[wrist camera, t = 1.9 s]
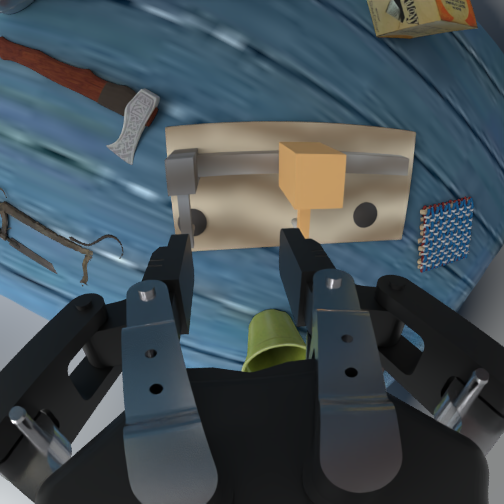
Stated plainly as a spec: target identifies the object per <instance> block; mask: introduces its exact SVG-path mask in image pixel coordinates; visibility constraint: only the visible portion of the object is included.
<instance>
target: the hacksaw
mask: <svg viewBox="0 0 504 504" xmlns="http://www.w3.org/2000/svg"><path fill="white" fill-rule="evenodd" d="M0 189H1V188H0ZM1 190H2V189H1ZM2 191H3V190H2ZM3 192H4V191H3ZM4 194H5V193H4ZM5 196H6V195H5ZM6 198H7V197H6ZM7 213H8V214H9V215H11V216H13V217H14V218H16V219H18V220H20V221H21V222H22V223H24V224H26V225H28V226H30V227H31V228H33V229H35V230H37V231H38V232H40V233H42V234H44V235H45V236H47V237H49V238H51V239H53V240H55V241H57V242H59V243H61V244H63V245H64V246H66V247H69V248H73V249H74V250H75V251H79V252H80V253H82V254H86V255H85V259H84V260H83V264H82V267H83V272H84V276H83V279H82V280H81V281H80V283H84V284H86V283H87V281H88V276H87V263H88V261H89V260H90V259H92V256H91V254H92V252H93V251H89V249H85V248H82V247H81V246H80V245H77V244H76V243H74V242H72V241H75V242H77V243H79V244H82V245H85V246H90V245H93V244H95V243H97V242H99V241H101V240H102V239H104V238H107V237H109V238H114V239H116V240H117V241H118V242H119V243H120V245H122V244H121V242H120V241H119V240H118V239H117V238H116V237H115V236H113V235H109V234H108V235H104V236H102V237H101V238H99V239H98V240H96V241H94V242H93V243H91V244H85V243H82V242H80V241H78V240H76V239H74V238H73V237H69V238H70V240H72V241H70V240H68V239H66V238H64V237H62V236H60V235H59V236H58V235H57V234H56V233H55V232H53V231H52V230H50V229H48V228H46V227H45V226H43V225H42V224H40V223H39V222H36V221H34V220H33V219H32V218H30V217H29V216H27V215H25V214H24V213H22V212H21V211H19V210H17V209H16V208H15V207H13V206H11V205H10V204H8V203H7V202H5V201H4V202H3V203H0V214H1V218H2V229H0V238H2V239H3V240H5V241H6V240H7V241H9V242H10V243H9V245H11V246H12V247H14V248H15V249H17V250H19V251H20V252H22V253H23V254H25V255H26V256H28V257H30V258H31V259H33V260H34V261H36V262H38V263H39V264H41V265H42V266H44V267H46V268H47V269H49V270H51V271H52V272H54V273H56V274H57V272H56V270H54V267H53V265H52V264H51V263H50V262H48V261H47V260H45V259H44V258H42V257H40V256H39V255H37V254H36V253H34V252H33V251H31V250H30V249H28V248H27V247H25V246H24V245H22V244H21V243H19V242H18V241H16V240H14V239H13V238H11V239H10V238H9V237H8V236H7V235H8V234H7V230H8V229H11V227H10V228H8V229H7V227H8V218H7ZM121 247H122V246H121ZM122 251H123V247H122ZM89 255H90V256H89ZM92 255H93V254H92ZM121 256H123V254H122V255H121ZM120 258H121V257H120ZM120 258H119V259H120ZM90 261H91V260H90ZM86 285H87V284H86ZM82 286H83V285H82Z"/></svg>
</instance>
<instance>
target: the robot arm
mask: <svg viewBox="0 0 504 504" xmlns="http://www.w3.org/2000/svg"><path fill="white" fill-rule="evenodd" d="M33 1H34V0H0V13H3V14H14V13H16V12H19V11H21V10H22V9H24V8H26V7H27V6H28V5H29V4H31V3H32V2H33ZM279 270H280V276H281V279H282V282H283V285H284V289H285V292H286V295H287V298H288V301H289V304H290V307H291V310H292V313H293V316H294V319H295V322H296V325H297V327H300V326H306V327H307V336H306V359H305V360H297V361H288V362H285V363H282V364H278V365H275V366H272V367H269V368H265V369H262V370H259V371H255V372H242V371H234V370H227V369H220V368H213V367H212V368H186V367H185V363H184V359H183V355H182V351H181V347H180V335H181V334H189V326H190V315H191V306H192V296H193V287H194V267H193V259H192V250H191V241H190V235H189V234H175V235H171V237H170V240H169V243H168V246H167V247H159V248H158V249H157V250H156V251H154V252H153V253H152V256H151V258H150V261H149V263H148V267H147V269H146V271H145V274H144V277H143V279H142V281H141V282H138V283H136V284H134V285H133V286H132V287H130V288H129V290H128V291H127V296H126V299H125V300H122V301H119V302H115V303H110V304H106V305H105V302H104V299H103V297H102V296H100V295H98V294H94V293H90V294H84V295H81V296H78V297H76V298H75V299H73V300H72V301H71V302H70V303H68V304H67V305H66V306H65V307H64V308H63V309H62V310H61V311H60V312H59V313H58V314H57V315H56V316H55V317H54V318H53V319H52V320H50V321H49V322H48V323H47V324H46V325H45V326H44V327H43V328H42V329H41V330H40V331H39V332H38V333H37V334H36V335H35V336H34V337H33V338H32V339H31V340H30V341H29V342H28V343H27V344H26V345H25V346H24V347H23V348H22V349H21V350H20V352H18V354H17V355H16V356H15V357H14V358H13V359H12V360H11V361H10V362H9V363H8V364H7V365H6V366H5V368H3V369H2V371H1V372H0V475H1V476H2V477H4V478H5V479H6V480H8V481H10V482H11V483H12V484H13V485H14V486H15V487H17V488H18V489H19V490H20V491H21V492H22V493H23V494H24V495H26V496H27V497H28V498H29V499H31V500H32V501H33V502H34V503H35V504H488V485H489V469H488V464H487V460H486V458H485V456H486V455H487V454H488V452H489V451H490V450H491V448H492V447H493V446H494V444H495V443H496V442H497V440H498V439H499V438H500V436H501V435H502V434H503V433H504V347H503V346H501V345H500V344H499V343H498V342H496V341H495V340H494V339H492V338H491V337H490V336H488V335H487V334H485V333H484V332H483V331H481V330H480V329H479V328H477V327H476V326H475V325H473V324H472V323H470V322H469V321H468V320H466V319H465V318H463V317H462V316H460V315H459V314H458V313H456V312H455V311H454V310H452V309H451V308H449V307H448V306H446V305H445V304H443V303H442V302H441V301H439V300H438V299H436V298H435V297H433V296H432V295H430V294H429V293H427V292H426V291H424V290H423V289H421V288H420V287H418V286H417V285H415V284H414V283H412V282H411V281H409V280H408V279H406V278H404V277H401V276H397V275H385V276H382V277H380V278H379V279H378V282H377V286H376V287H369V286H360V285H355V283H354V279H353V278H352V276H351V275H350V274H348V273H346V272H344V271H342V270H338V269H336V268H335V267H334V265H333V263H332V262H331V260H330V259H329V257H328V256H327V254H326V253H325V251H324V249H323V248H322V246H321V245H320V243H318V242H316V241H315V240H313V239H312V238H308V239H305V238H304V236H303V234H302V233H301V231H300V229H299V228H282V229H281V230H280V248H279ZM405 324H406V325H407V326H408V327H409V328H411V329H412V330H413V331H414V332H416V333H417V334H418V335H419V336H421V338H422V339H423V341H424V345H425V347H424V351H423V352H421V351H420V350H419V349H418V348H417V347H415V346H414V345H413V344H412V343H411V342H409V341H408V340H407V339H406V338H404V337H403V336H402V335H401V333H402V330H403V328H404V325H405ZM81 348H83V350H84V352H85V354H86V356H85V358H84V359H83V360H82V361H81V362H80V363H79V365H78V366H77V367H76V368H75V369H74V371H73V372H72V373H71V374H70V376H68V365H69V363H70V361H71V360H72V359H73V358H74V356H75V355H76V354H77V353H78V352H79V351H80V349H81ZM382 368H384V369H385V370H386V371H387V372H388V373H389V374H390V375H391V376H392V377H393V378H394V379H395V380H396V381H397V382H398V383H400V384H401V385H402V386H403V387H404V388H405V389H406V390H407V391H408V392H409V393H410V394H411V395H412V396H413V397H414V398H415V399H417V400H418V401H419V402H420V403H421V404H422V405H423V406H424V407H425V408H426V409H427V410H428V411H429V412H430V413H431V414H432V415H434V419H433V418H431V417H429V416H428V415H426V414H424V413H422V412H421V411H419V410H417V409H415V408H414V407H412V406H410V405H408V404H407V403H405V402H403V401H401V400H399V399H398V398H396V397H394V396H392V395H391V394H389V393H388V392H386V387H385V382H384V377H383V372H382ZM121 372H123V373H122V375H123V391H124V405H125V410H124V411H123V412H122V413H121V414H120V415H119V416H118V417H117V418H116V419H114V420H113V421H112V422H111V423H110V424H109V425H108V426H107V427H105V428H104V429H103V430H102V431H101V432H100V433H99V434H98V435H96V436H95V437H94V438H93V439H92V440H91V441H90V442H89V443H87V444H86V445H85V446H84V447H83V448H82V449H81V450H79V451H78V452H77V453H76V454H75V455H74V456H73V457H71V455H72V448H71V444H72V442H73V441H74V439H75V438H76V436H77V435H78V433H79V432H80V430H81V429H82V427H83V426H84V425H85V423H86V422H87V420H88V419H89V417H90V416H91V414H92V413H93V412H94V410H95V409H96V407H97V406H98V404H99V403H100V402H101V400H102V399H103V397H104V396H105V395H106V393H107V392H108V390H109V389H110V387H111V386H112V385H113V383H114V382H115V380H116V379H117V378H118V376H119V375H120V374H121Z"/></svg>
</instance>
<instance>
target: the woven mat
mask: <svg viewBox="0 0 504 504" xmlns="http://www.w3.org/2000/svg"><path fill="white" fill-rule="evenodd" d="M470 204H471V205H470ZM463 206H464V207H463ZM451 208H452V209H451ZM473 209H474V205H473V199H472V198H471V197H469V198H466V197H464V199H463V198H461V200H460V199H458V201H456V200H454V202H452V201H451V200H449V202H446V203H445V204H444V202H442V203H441V204H440V203H438V205H436V204H434V205H433V206H431V205H430V206H429V207H427V206H426V205H425V206H424V207H423V209H422V210H420V214H422V215H423V217H422V218H421V221H424V224H422V225H420V230H423V229H424V231H421V232H420V235H422V236H423V238H421V239H418V243H422V244H421V246H419V249H418V250H419V251H421V252H419V256H420V255H422V256H421V258H420V259H418V264H421V265H418V268H420V272H425V271H426V270H427V271H430V269H433V268H438V265H439V267H440V266H442V265H443V266H444V265H446V264H448V263H450V262H451V263H453V260H454V262H455V261H457V260H460V257H461V259H463V258H464V256H465V258H467V253H468V252H469V248H468V246H470V245H468V244H469V242H470V240H471V239H469V238H470V237H471V231H470V229H471V227H472V222H471V221H472V219H473V218H472V216H473V212H472V211H473ZM471 218H472V219H471ZM461 255H462V256H461Z"/></svg>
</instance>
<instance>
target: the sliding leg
mask: <svg viewBox="0 0 504 504" xmlns="http://www.w3.org/2000/svg"><path fill="white" fill-rule="evenodd" d="M345 171H346V154H344V153H342V152H340V151H337V150H335V149H333V148H331V147H329V146H326V145H324V144H322V143H320V142H279V187H280V189H281V190H282V191H283V193H284V194H285V196H286V197H287V199H288V200H289V202H290V203H291V205H292V206H293V208H294V210H298V212H297V218H293V219H292V220H291V223H292V225H293V227H294V228H299V229H300V231H301V233H302V234H303V236H304V238H305V239H308V238H309V229H310V212H311V209H336V208H343V197H344V185H345Z"/></svg>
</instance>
